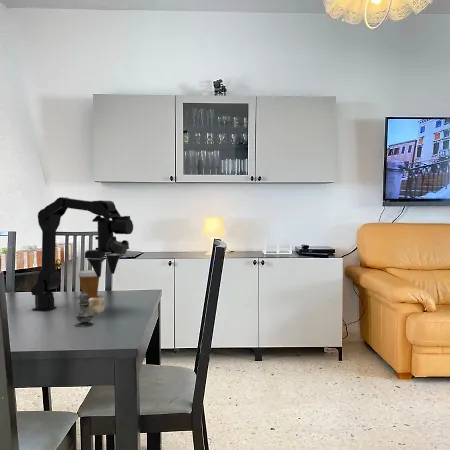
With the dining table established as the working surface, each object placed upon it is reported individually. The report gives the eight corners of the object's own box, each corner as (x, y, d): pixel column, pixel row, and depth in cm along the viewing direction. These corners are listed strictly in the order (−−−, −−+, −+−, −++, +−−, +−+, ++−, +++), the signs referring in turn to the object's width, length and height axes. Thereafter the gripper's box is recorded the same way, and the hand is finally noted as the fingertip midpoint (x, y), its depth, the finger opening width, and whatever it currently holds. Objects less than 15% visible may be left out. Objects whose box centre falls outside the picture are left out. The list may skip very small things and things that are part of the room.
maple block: (87, 313, 176) (86, 300, 176) (91, 310, 181) (91, 297, 181) (100, 313, 176) (99, 300, 175) (104, 310, 181) (103, 297, 180)
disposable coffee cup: (97, 300, 201) (96, 272, 200) (75, 300, 201) (75, 272, 200) (103, 296, 210) (102, 269, 210) (82, 296, 210) (82, 269, 210)
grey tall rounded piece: (88, 327, 154) (87, 291, 154) (72, 326, 155) (71, 291, 155) (96, 323, 160) (96, 288, 160) (81, 322, 161) (80, 288, 161)
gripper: (110, 235, 162) (111, 279, 162) (136, 233, 180) (137, 272, 180) (83, 235, 165) (84, 278, 166) (112, 232, 183) (112, 271, 184)
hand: (106, 275), depth 174 cm, fingers open, 9 cm apart
